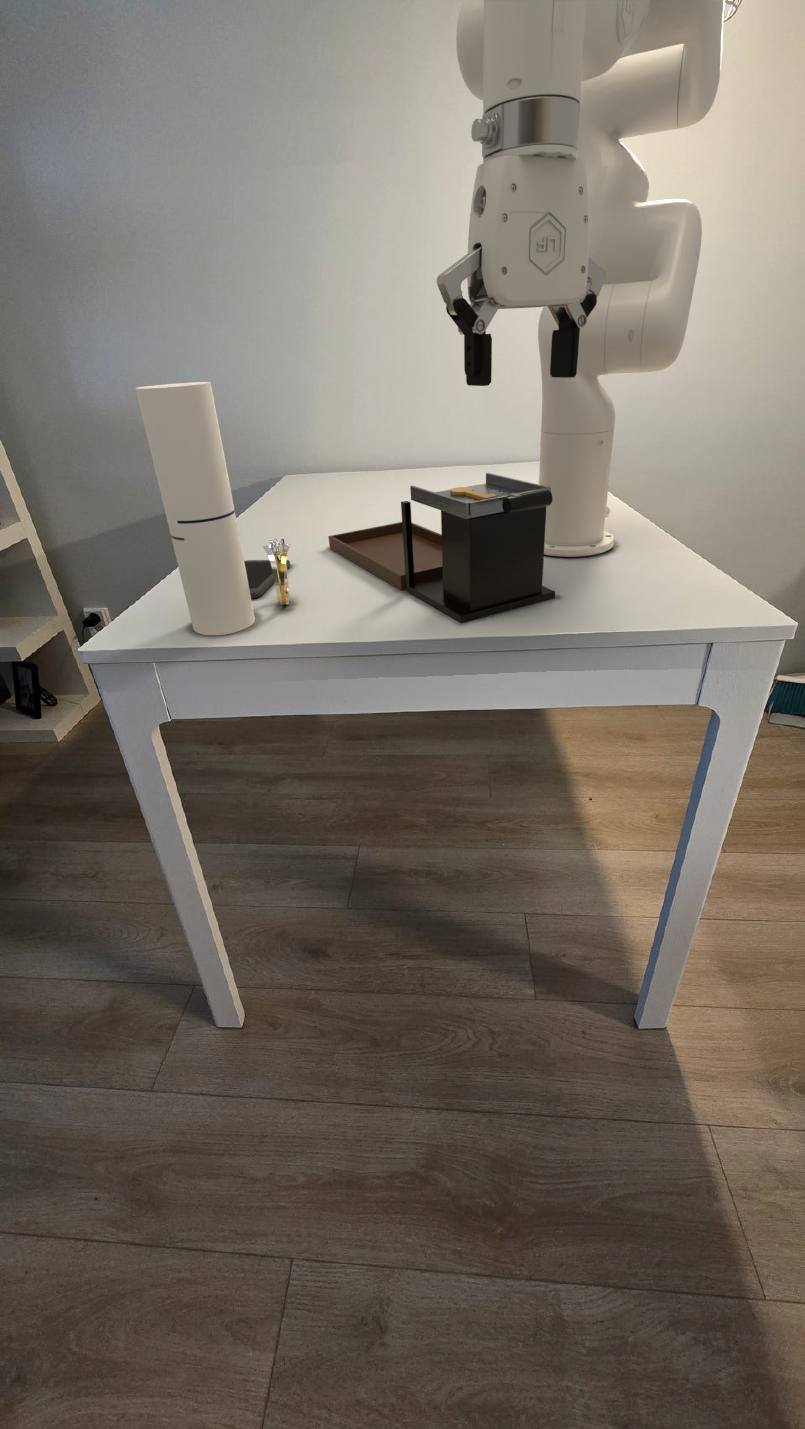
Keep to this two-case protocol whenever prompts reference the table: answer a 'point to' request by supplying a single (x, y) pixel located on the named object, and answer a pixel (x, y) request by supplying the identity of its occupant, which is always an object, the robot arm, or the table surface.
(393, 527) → the tray
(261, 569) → the cell phone
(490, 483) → the dark tilted plate
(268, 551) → the ring
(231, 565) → the cylindrical container
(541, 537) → the stand
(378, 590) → the table surface
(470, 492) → the yellow i-shaped piece
